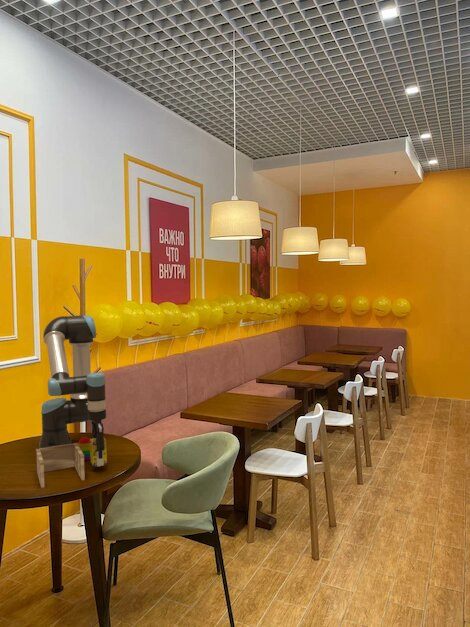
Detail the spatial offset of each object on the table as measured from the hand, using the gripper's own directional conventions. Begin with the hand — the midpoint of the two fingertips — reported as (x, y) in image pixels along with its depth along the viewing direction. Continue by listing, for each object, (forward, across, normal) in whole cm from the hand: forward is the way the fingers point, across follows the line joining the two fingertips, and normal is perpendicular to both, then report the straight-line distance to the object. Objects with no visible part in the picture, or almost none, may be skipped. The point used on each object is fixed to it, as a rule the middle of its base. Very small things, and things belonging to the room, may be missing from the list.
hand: (98, 463), depth 206 cm
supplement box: (+1, 0, 0) cm, 1 cm away
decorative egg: (+3, -18, -3) cm, 18 cm away
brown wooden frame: (+3, 0, -16) cm, 16 cm away
